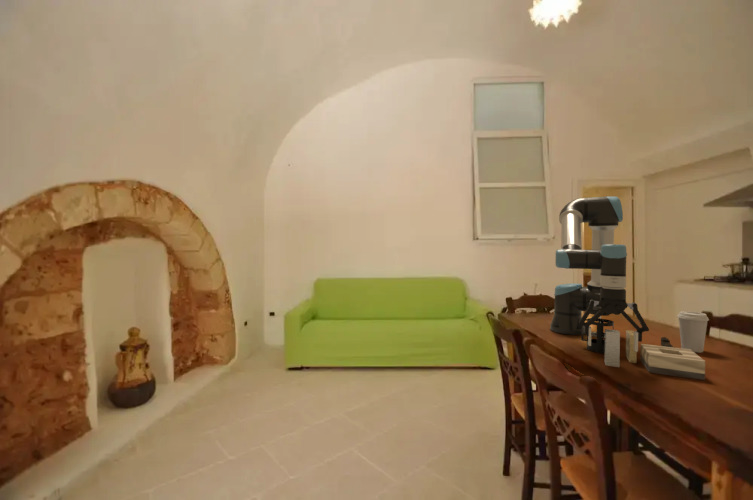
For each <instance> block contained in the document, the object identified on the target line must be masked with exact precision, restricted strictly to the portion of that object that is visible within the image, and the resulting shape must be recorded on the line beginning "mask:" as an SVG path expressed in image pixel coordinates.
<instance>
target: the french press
mask: <svg viewBox="0 0 753 500" xmlns="http://www.w3.org/2000/svg"><path fill="white" fill-rule="evenodd" d="M595 294H596V295H599V298H600V293H595ZM600 309H601V307H597V306H596V307H593V309H592V311H591V312H590V314H589V315H593V316H594V315H595V314H596V313H597V312H598V311H599V310H600ZM610 315H611V314H607V313H604V314H603V315H601V316H600V317H599V318H598V319H597V320H596V321H595V322H593V323H592V324H591V325H593V326H596V331H591V337H594V338H591V346H589V345H588V336H586V339H585V338H584V334H583V325H582V335H581V341H583V342H586V350H587V351H591V352H594V353H597V354H604V355H605V332H604V330H605V329H604V328H605V327H612V330H615V329H614V328H615V326H614V325H615V321H613V320H612V319H606V318H602V316H603V317H604V316H605V317H607V316H610ZM590 318H591V317H590ZM590 318H587V319H586V320H585V322H587V321H588V320H589V319H590Z"/></svg>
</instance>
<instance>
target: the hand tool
mask: <svg viewBox="0 0 753 500" xmlns="http://www.w3.org/2000/svg"><path fill="white" fill-rule="evenodd" d="M660 346H665V347H674V346H673V345H672V344H671V341H670V339H669V338H667V337H665V336H663V337H661V338H660ZM674 348H676V347H674Z"/></svg>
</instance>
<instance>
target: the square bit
mask: <svg viewBox="0 0 753 500" xmlns="http://www.w3.org/2000/svg"><path fill="white" fill-rule="evenodd" d="M604 333H605V338H604V340H605V354H604V356H603V357H604V359H603V360H604V365H605V366H607V367H615V368H620V366H621V365H620V360H621V359H620V358H621V357H620V356H621V355H620V353H621V352H620V351H621V349H620V348H621V347H620V346H621V342H620V341H621V331H619V330H617V329H614V330H613V329H608V328H605V329H604Z"/></svg>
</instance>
